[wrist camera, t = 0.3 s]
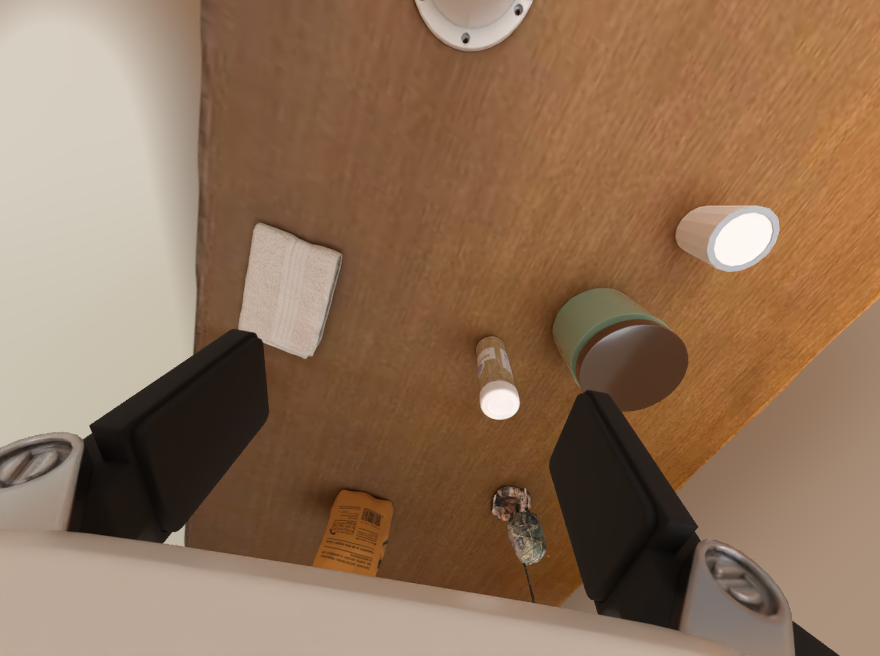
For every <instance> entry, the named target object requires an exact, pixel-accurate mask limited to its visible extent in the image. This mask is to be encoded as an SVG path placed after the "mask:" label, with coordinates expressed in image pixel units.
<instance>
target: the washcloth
mask: <svg viewBox="0 0 880 656" xmlns="http://www.w3.org/2000/svg"><path fill="white" fill-rule="evenodd" d="M251 245H252V247H251V249H250V257H249V264H248V268H247V276H246V278H245V280H246V281H245V282H246V283H245V290H244V293H243V294H244V296H243V303H242V311H241V314H240V317H239V318H240V320H239V326H238V328H239V330H244V331H249V332H254V333H256V334H257V336H258V338H260V339H262V341H263V342H264V343H266V344H268V345H271V346H273V347H276V348H279V349H281V350H284V351H286V352H288V353H291V354H294V355H297V356H300V357H302V358H304V359H306V358H307V357H308V356H313V355H314V352H315V349H316V347H317V346H318V345H319V343H320V341H321V339H322V335H323V332H324V328H325V323H326V320H327V317H328V313H329V309H330V306H331V303H332V297H333V294H334V290H335V287H336V283H337V279H338V275H339V272H340V268H341V264H342V254H341V253H339V252H337V251H335V250H332V249H330V248H326V247H324V246H319V245H316V244H315V245H313V244H310V243H308V242H306V241H304V240H302V239H298V238H297V237H296V236H295V235H293V234H290V233H288V232H285V231H282V230H279V229H277V228H276V227H272V226H269V225H266V224H263V223H258V224H257V225H256V226H255V229H254V230H253V237H252V243H251Z"/></svg>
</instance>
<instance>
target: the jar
mask: <svg viewBox="0 0 880 656" xmlns="http://www.w3.org/2000/svg"><path fill="white" fill-rule="evenodd" d="M552 332H553V340H554V343H555V345H556V347H557V349H558V351H559V352H560V354H561V356H562V358H563V360H564V362H565V364H566V365H567V367H568V369H569V371H570V373H571V375H572V377H573V378H574V380H575V382H576V383H577V385H578V386H579V387H580V388H581V389H582V391H583V393H584V392H585V391H586V390H592V391H598V392H604V393H608V394H609V395H610V396H611V397H612V399H613V400H614V402H615V403H616V405H617V406H618V408H619V409H620V411H621V412H627V411H635V410H640V409H643V408H647V407H649V406H652V405H654V404H656V403H658V402H660V401H661V400H663V399H664V398H666V397H667V396H668V395H670V394H671V393H672V392H673V391H674V390H675V389H676V388H677V386H678V385H679V384H680V383H681V381H682V379H683V378H684V375H685V373H686V370H687V367H688V353H687V349H686V346H685V344H684V343H683V341H682V340H681V339H680V338H679V336H678V335H676V334H675V333H674V332H672V331H671V329H670V328H669V327H668V326H667V325H666V324H665V323H664V322H662V321H661V320H660V319H658V318H657V317H656V316H654V315H653V314H652V313H650V312H649V311H648V310H646V309H645V308H644V307H642V306H641V305H640V304H638V303H637V302H636V301H634V300H633V299H632V298H630V297H629V296H628V295H626V294H625V293H623V292H621V291H618V290H615V289H611V288H596V289H591V290H587V291H584V292H582V293H580V294H578V295H576V296H574V297H573V298H571V299H570V300H569V301H568V302H567V303H566V304H565V305H564V306H563V307H562V308H561V309H560V311H559V312H558V314H557V316H556V318H555V321H554V324H553V331H552Z"/></svg>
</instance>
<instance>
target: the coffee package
mask: <svg viewBox="0 0 880 656" xmlns="http://www.w3.org/2000/svg"><path fill="white" fill-rule="evenodd" d="M392 515H393V505H392V502H391V501H388V500H380V499H376V498H374V497H372V496H371V495H370V494H368V493H365V492H360V491H348V490H342V491H340V493H339V494H338V496H337V498H336V500H335V502H334V504H333V506H332V509H331V511H330V514H329V519H328V523H327V528H326V532H325V534H324V537H323V539H322V543H321V545H320V547H319V549H318V552H317V554H316V557H315V559H314V562H313V565H312V567H316V568H323V569H329V570H335V571H341V572H348V573H354V574H360V575H366V576H372V577H375V576H376V572H377V570H378V568H379V565H380V563H381V561H382V558H383V556H384V553H385V550H386V547H387V542H388V536H389V530H390V525H391V518H392Z"/></svg>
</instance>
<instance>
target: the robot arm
mask: <svg viewBox="0 0 880 656" xmlns="http://www.w3.org/2000/svg"><path fill="white" fill-rule="evenodd" d="M415 2H416V5H417V8H418V10H419V13H420V15H421V17H422V18H423V20H424V22H425V24H426V25H427V27H428V28H429V29H430V30H431V32H432V33H433V34H434V35H435V36H436V37H437V38H438V39H439V40H441V41H442V42H443V43H444V44H446V45H448V46H450V47H452V48H454V49H457V50H462V51H467V52H470V51H481V50H485V49H489V48H491V47H493V46H495V45H497V44H499V43H501V42H502V41H503V40H504V39H506V38H507V37H508V36H509V35H511V34H512V33H513V31H514V30H515V29H516V28H517V27H518V26H519V25H520V23H521V22H522V20H523V19H524V17H525V15H526V14H527V12H528V11H529V8H530V6H531V4H532V2H533V0H424V1H421V0H415ZM515 11H519V13H520V15H518V16H517V15H515ZM464 39H467V40H468V42H467V43H466V44H465V43H463V40H464ZM268 414H269V407H268V395H267V383H266V372H265V360H264V348H263V341H262V339H260V338H258V336H257V334H256V333H254V332H249V331H244V330H238V329H232V330H230V331H228V332H227V333H225V334H224V335H222V336H221V337H219V338H218V339H217V340H215V341H214V342H212V343H211V344H209V345H208V346H206V347H205V348H203V349H202V350H200V351H199V352H197V353H196V354H194V355H193V356H191V357H190V358H188V359H187V360H186V361H184V362H182V363H181V364H179V365H178V366H177V367H175V368H174V369H172V370H171V371H169V372H168V373H166V374H165V375H163V376H162V377H160V378H159V379H157V380H156V381H154V382H153V383H151V384H150V385H148V386H147V387H145V388H144V389H142V390H141V391H140V392H138V393H137V394H135V395H134V396H132V397H131V398H129V399H128V400H126V401H125V402H123V403H122V404H120V405H119V406H117V407H116V408H114V409H113V410H112V411H110V412H109V413H107V414H105V415H104V416H103V417H101V418H100V419H98V420H97V421H95V422H94V423H92V424H91V425H90V429H91V431H92V434H90V435H89V436H87V437H86V438H85V439H81V438H80V437H79V436H78V435H75V434H71V433H67V432H66V433H65V432H61V433H60V432H57V433H56V432H55V433H54V432H53V433H47V434H40V435H35V436H32V437H28V438H25V439H21V440H18V441H15V442H13V443H10V444H8V445H6V446H4V447H1V448H0V656H839V655H838V654H837V653H835V652H834V651H833V650H831V649H830V648H828V647H827V646H826V645H824V644H823V643H822V642H820V641H819V640H818V639H816V638H815V637H814V636H812V635H811V634H810V633H808V632H806V630H804V629H803V628H802V627H800V626H799V625H797V624H796V623H795V622H793V621H792V613H791V610H790V607H789V604H788V601H787V599H786V597H785V596H784V594H783V592H782V591H781V589H780V587H779V586H778V585H777V584H776V583H775V581H774V580H773V579H772V578H771V577H770V575H769V574H768V573H767V572H766V571H765V570H763V569H762V568H761V567H760V566H759V565H758V564H757V563H756V562H755V561H753V560H752V559H751V558H749V557H748V556H747V555H745V554H744V553H742V552H741V551H739V550H737V549H735V548H734V547H732V546H730V545H728V544H726V543H723V542H720V541H717V540H707V539H706V540H703V541H700V539H699V537H698V536H697V534H696V533H695V530H696V529H697V528H698V526H697V524H696V523H695V521H694V520H693V518H692V517H691V515H690V514H689V512H688V511H687V509H686V508H685V506H684V505H683V504H682V502H681V500H680V499H679V497H678V496H677V494H676V493H675V491H674V490H673V488H672V487H671V485H670V484H669V482H668V481H667V479H666V478H665V476H664V475H663V473H662V472H661V470H660V469H659V467H658V466H657V464H656V463H655V461H654V460H653V459H652V457H651V456H650V454H649V453H648V451H647V450H646V448H645V447H644V445H643V444H642V442H641V441H640V439H639V438H638V436H637V435H636V433H635V432H634V430H633V429H632V427H631V426H630V424H629V423H628V421H627V420H626V418H625V417H624V415H623V414H622V412H621V411H620V409H619V408H618V406H617V405H616V403H615V402H614V400H613V399H612V397H611V396H610V395H609V394H608V393H604V392H598V391H592V390H586V391H585V392H584V393H583V394H579V395H578V396H577V398H576V400H575V402H574V405H573V407H572V409H571V412H570V414H569V416H568V419H567V421H566V423H565V426H564V428H563V430H562V433H561V435H560V437H559V440H558V442H557V444H556V447H555V449H554V451H553V454H552V456H551V458H550V463H549V468H550V473H551V476H552V480H553V483H554V487H555V490H556V493H557V497H558V500H559V503H560V507H561V510H562V514H563V517H564V520H565V524H566V527H567V530H568V534H569V537H570V541H571V544H572V547H573V551H574V554H575V557H576V561H577V564H578V568H579V571H580V574H581V578H582V581H583V584H584V588H585V591H586V594H587V595H588V597H589V598H590V599H591V600H594V603H595V606H596V609H597V612H598V614H593V613H588V612H583V611H577V610H571V609H566V608H560V607H554V606H548V605H542V604H536V603H530V602H524V601H518V600H512V599H506V598H500V597H494V596H488V595H482V594H476V593H470V592H464V591H458V590H452V589H446V588H440V587H434V586H428V585H422V584H415V583H409V582H403V581H397V580H391V579H385V578H379V577H372V576H366V575H360V574H354V573H348V572H341V571H335V570H329V569H323V568H316V567H310V566H304V565H298V564H291V563H285V562H278V561H272V560H266V559H259V558H253V557H246V556H240V555H234V554H227V553H221V552H214V551H208V550H201V549H195V548H189V547H182V546H175V545H169V544H163V543H164V542H165V540H166V539H167V538H168V536H169V535H170V534H171V533H172V532H176V531H178V530H180V529H181V528H182V527H183V526H184V525H185V524H186V522H187V521H188V520H189V518H190V517H191V516H192V515H193V513H194V512H195V511H196V510H197V508H198V507H199V506H200V505H201V503H202V502H203V501H204V499H205V498H206V497H207V496H208V494H209V493H210V492H211V491H212V489H213V488H214V487H215V486H216V484H217V483H218V482H219V480H220V479H221V478H222V477H223V475H224V474H225V473H226V472H227V470H228V469H229V468H230V467H231V465H232V464H233V463H234V462H235V460H236V459H237V458H238V456H239V455H240V454H241V453H242V451H243V450H244V449H245V448H246V446H247V445H248V444H249V443H250V441H251V440H252V439H253V437H254V436H255V435H256V434H257V432H258V431H259V430H260V429H261V427H262V426H263V425H264V423H265V422H266V420H267V417H268Z"/></svg>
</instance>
